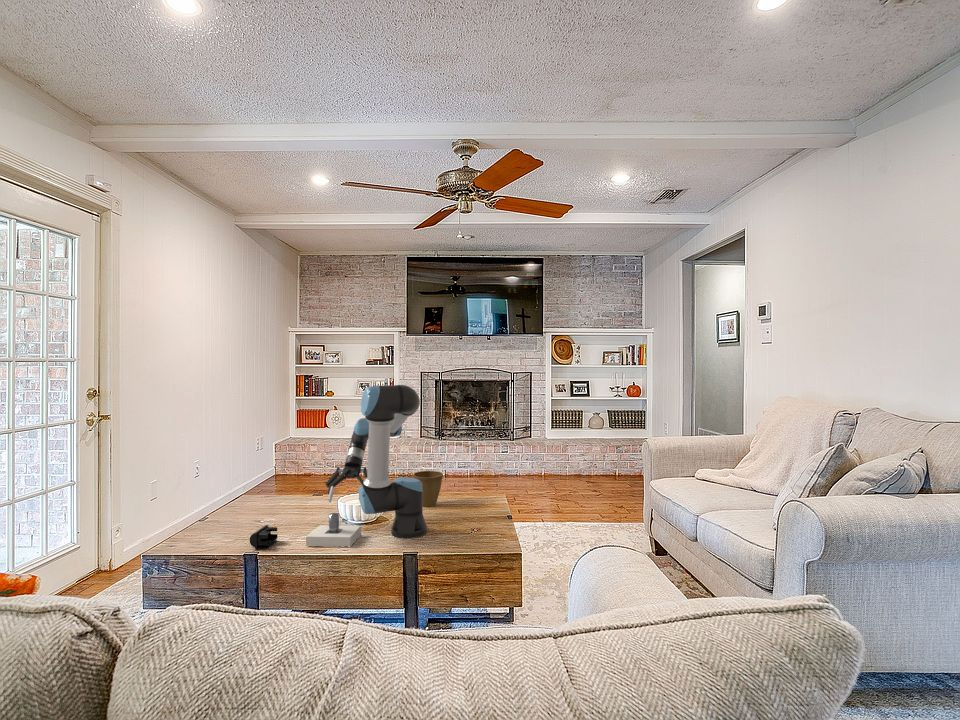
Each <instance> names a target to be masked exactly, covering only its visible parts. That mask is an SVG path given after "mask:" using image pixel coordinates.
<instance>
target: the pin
mask: <svg viewBox="0 0 960 720" xmlns="http://www.w3.org/2000/svg"><path fill="white" fill-rule="evenodd" d="M328 526H329V534H339V526H340V513H338V512H331V513H328Z"/></svg>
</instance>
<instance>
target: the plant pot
mask: <svg viewBox="0 0 960 720" xmlns="http://www.w3.org/2000/svg"><path fill="white" fill-rule="evenodd" d="M412 475H413V476H412V478H414V479H418V480H420V481H421V483H422V490H423V492H422V507H423V508H432V507H435V506H436V504H437V502H438V498H439V496H440V492H441V488H442V483H443V475H444V473H443V472H441V471H435V470H422V471H417V472H414V473H413V474H412Z"/></svg>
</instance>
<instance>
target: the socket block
mask: <svg viewBox="0 0 960 720" xmlns="http://www.w3.org/2000/svg"><path fill="white" fill-rule="evenodd" d="M361 531H362V529H361V525H339V534H329V525H321V524H320V525H318V526H317V527H316V528H314V529H313V530H312V531H311V532H310V533H309V534H307V536H305V541H306V542H305V543H306V544H305V545H306V546H308V547H309V546H351V545H352V544H353V543H356V542H357V540H358V539H359V538H360V537H361V536H360V535H362V534H361V533H362V532H361ZM359 536H360V537H359ZM358 537H359V538H358ZM357 538H358V539H357ZM356 539H357V540H356ZM353 545H354V544H353ZM353 545H352V546H353ZM306 546H305V547H306ZM352 546H351V547H352ZM308 547H307V548H308ZM309 548H310V547H309Z"/></svg>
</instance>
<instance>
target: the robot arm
mask: <svg viewBox="0 0 960 720" xmlns="http://www.w3.org/2000/svg"><path fill="white" fill-rule="evenodd" d="M420 404H421V403H420V397H419V394H418V393H417V391H416V390H415V389H414V388H412V387H411V386H409V385H404V384H395V385H394V384H393V385H391V384H390V385H386V384H385V385H373V386H372V385H370V386H367V387H366V388H365V389H364V391H363V392H362V396H361V402H360V407H361V408H360V411H361V414H362V415H363V416H364V417H362V418H359V419H358V420H357V421H356V423H355V424H354V426H353V427H354V428H353V431H352V435H351V438H350V443H349V448H348V450H347V455H346V459H345V463H344V466H343V468H340V467H339V466H337V468H336V469H335V471H334V472H333V474H332V475H331V476H330V478H328V480H327V481H326V483H325V485H326V486H325V487H327V488H328V490H327V495H328V498H327V501H328V502H329V503H332V501H333V496H334V493H335V487H337V486H338V485H339V484H340V483H341V482H342V481H344V480H346V479H355V478H356V479H357V480H358V482H359V483H360V484H361V486H358V501H359V503H360V508H361V510H362V512H363V513H364V514H366V515H373V514H374V515H376V514H383V513H388V512H394V513H395V514H394V518H393V521H392V522H393V523H392V525H391V528H390V530H391V536H392V537H394V538H397V539H398V538H399V539H414V538H419V537H422V536H425V535H426V534H427V532H428V526H427V522H426V521H425V520H426V519H425V518H424V517H425V516H424V514H423V508H424V507H422V492H423V490H422V483H421V481H420V480H418V479H414V477H406V476H402V477H396V478H394V479H393V480H392V479H391V478H390V477H389V471H390V470H389V469H390V468H389V463H390V443H391V442H390V439H391V438H393V437H399V436H401V435H402V431H403V425H404V423H405V422H406V421H407V419H408V418H409V417H410V416H412V415H414V414H415V413H416V412H418V409H419V408H420ZM367 445H368V447H367ZM366 447H367V467H363V468H362V465H363V462H364V456H365V452H366ZM361 473H362V474H363V475H364V479H362V477H361V475H360V474H361ZM392 481H394V482H392Z"/></svg>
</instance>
